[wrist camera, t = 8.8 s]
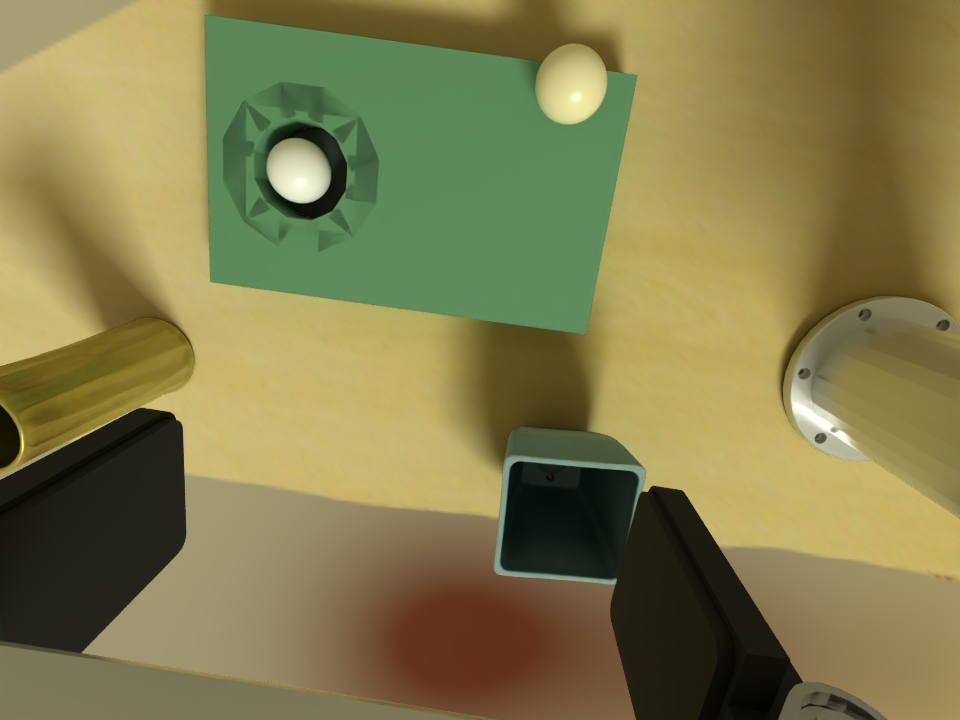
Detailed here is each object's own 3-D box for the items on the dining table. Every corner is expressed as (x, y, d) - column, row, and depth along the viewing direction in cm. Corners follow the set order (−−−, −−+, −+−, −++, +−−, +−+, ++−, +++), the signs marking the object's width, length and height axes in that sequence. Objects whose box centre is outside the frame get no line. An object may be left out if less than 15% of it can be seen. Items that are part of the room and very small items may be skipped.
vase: (141, 300, 38) (-61, 349, 24) (210, 350, 39) (52, 424, 25) (105, 360, 39) (-105, 437, 26) (172, 406, 40) (4, 505, 27)
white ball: (334, 146, 35) (330, 140, 31) (332, 206, 36) (327, 207, 32) (273, 136, 34) (260, 129, 30) (272, 198, 35) (260, 199, 31)
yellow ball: (605, 61, 30) (621, 38, 26) (592, 133, 31) (605, 122, 27) (538, 51, 30) (544, 27, 26) (528, 124, 31) (532, 112, 27)
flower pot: (616, 411, 39) (648, 467, 30) (600, 509, 41) (625, 587, 33) (503, 401, 39) (504, 454, 31) (494, 500, 42) (492, 575, 33)
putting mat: (625, 87, 33) (637, 75, 30) (579, 325, 37) (585, 334, 34) (230, 32, 33) (204, 14, 30) (232, 276, 37) (210, 281, 34)
